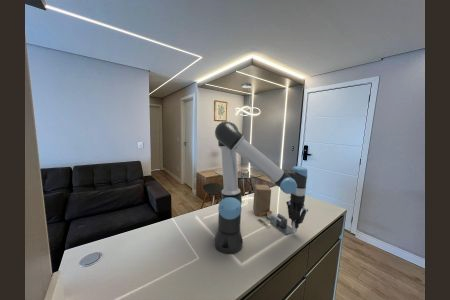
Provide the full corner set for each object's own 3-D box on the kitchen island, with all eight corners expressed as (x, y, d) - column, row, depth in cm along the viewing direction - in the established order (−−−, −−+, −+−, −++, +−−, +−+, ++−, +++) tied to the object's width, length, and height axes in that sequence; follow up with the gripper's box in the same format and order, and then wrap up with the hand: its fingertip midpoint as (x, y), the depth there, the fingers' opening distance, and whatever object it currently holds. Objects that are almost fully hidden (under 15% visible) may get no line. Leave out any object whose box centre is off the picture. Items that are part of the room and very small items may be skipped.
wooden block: (269, 216, 117) (271, 189, 115) (255, 216, 117) (256, 189, 115) (265, 209, 127) (267, 184, 125) (252, 209, 127) (254, 184, 125)
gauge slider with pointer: (273, 231, 99) (274, 223, 98) (256, 219, 112) (257, 211, 111) (286, 226, 105) (287, 218, 104) (269, 215, 118) (269, 208, 117)
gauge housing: (279, 238, 95) (280, 229, 94) (256, 220, 112) (257, 213, 111) (295, 231, 101) (296, 223, 101) (271, 216, 119) (272, 209, 118)
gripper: (312, 196, 91) (308, 236, 94) (292, 188, 102) (289, 224, 105) (304, 199, 87) (300, 240, 90) (284, 190, 98) (281, 227, 101)
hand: (294, 232), depth 98 cm, fingers closed
